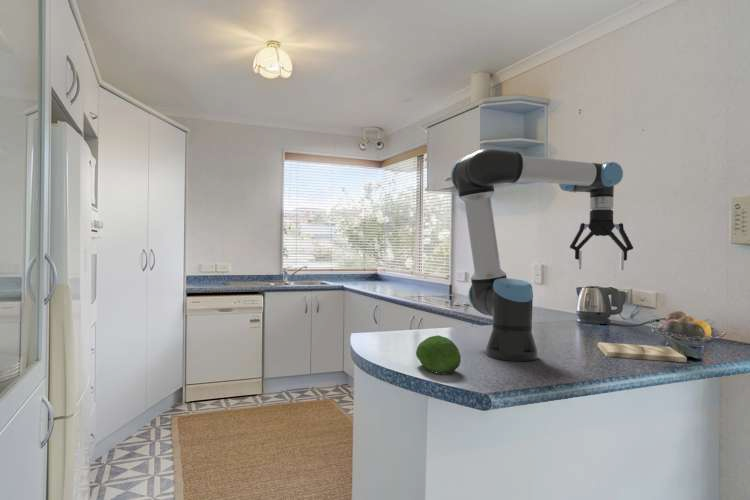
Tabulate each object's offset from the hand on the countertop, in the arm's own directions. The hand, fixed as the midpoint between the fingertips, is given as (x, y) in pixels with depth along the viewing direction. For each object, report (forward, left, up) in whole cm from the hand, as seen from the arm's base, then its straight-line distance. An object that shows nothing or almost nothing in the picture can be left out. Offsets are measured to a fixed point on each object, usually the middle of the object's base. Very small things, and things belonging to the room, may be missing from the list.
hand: (600, 269), depth 167 cm
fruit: (-49, -57, -27) cm, 80 cm away
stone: (+19, -13, -21) cm, 30 cm away
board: (+10, -12, -27) cm, 31 cm away
